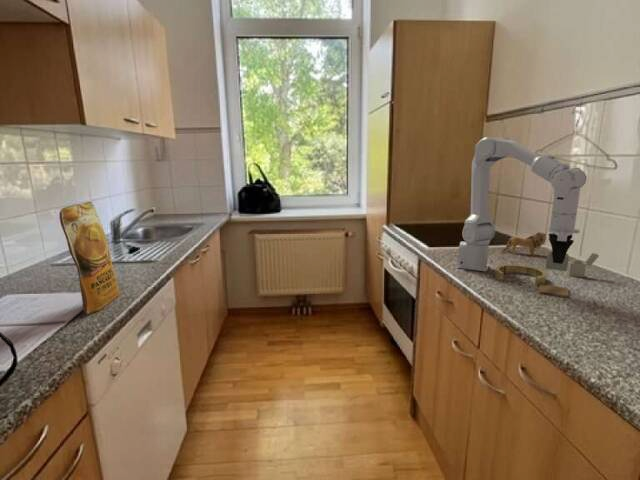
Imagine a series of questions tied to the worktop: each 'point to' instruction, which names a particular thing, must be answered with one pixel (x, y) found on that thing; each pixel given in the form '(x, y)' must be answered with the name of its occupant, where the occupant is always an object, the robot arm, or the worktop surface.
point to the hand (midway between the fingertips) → (557, 260)
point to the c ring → (521, 269)
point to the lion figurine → (527, 242)
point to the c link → (556, 265)
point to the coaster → (553, 290)
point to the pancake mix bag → (90, 255)
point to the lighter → (581, 266)
